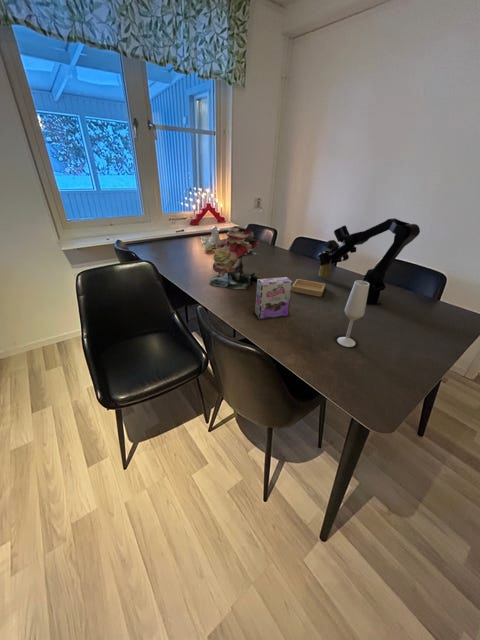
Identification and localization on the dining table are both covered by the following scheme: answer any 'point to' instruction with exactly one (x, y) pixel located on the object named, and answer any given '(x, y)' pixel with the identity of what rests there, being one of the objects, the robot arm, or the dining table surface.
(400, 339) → the dining table surface
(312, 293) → the tray
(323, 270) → the vase
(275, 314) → the candy box
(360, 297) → the champagne flute
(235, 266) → the rose bouquet
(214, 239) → the chinaware
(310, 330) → the dining table surface
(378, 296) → the robot arm
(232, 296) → the dining table surface
